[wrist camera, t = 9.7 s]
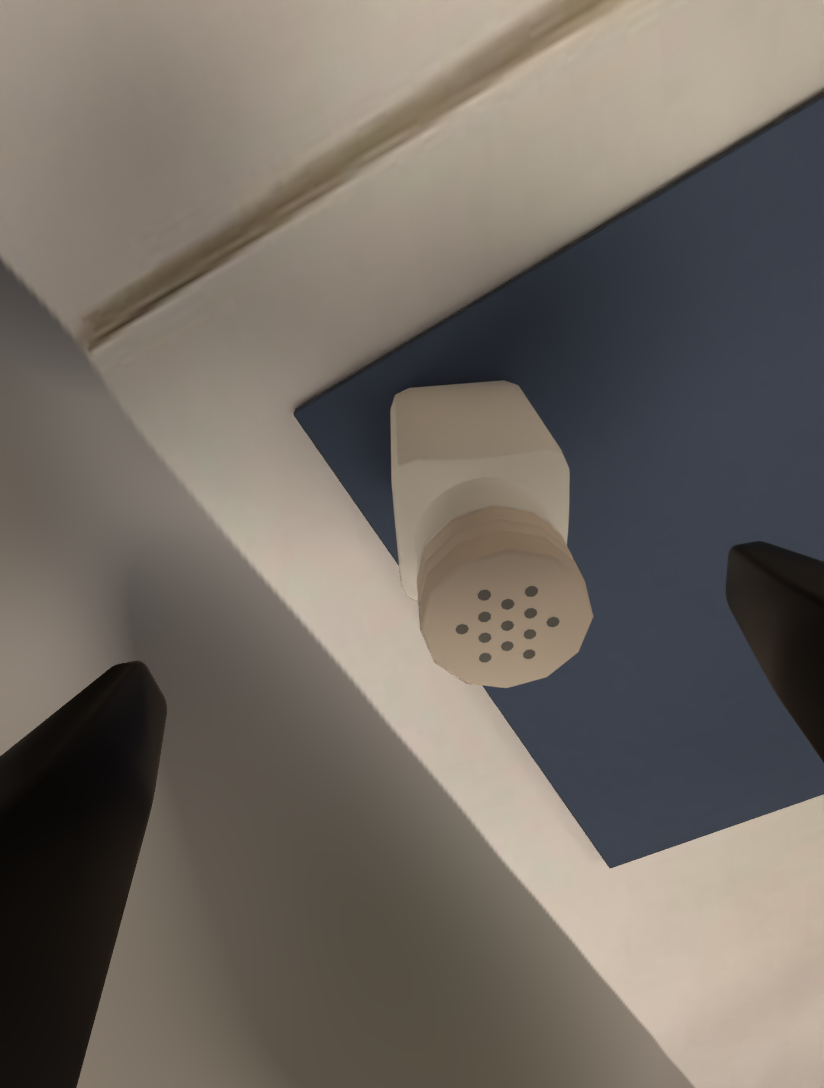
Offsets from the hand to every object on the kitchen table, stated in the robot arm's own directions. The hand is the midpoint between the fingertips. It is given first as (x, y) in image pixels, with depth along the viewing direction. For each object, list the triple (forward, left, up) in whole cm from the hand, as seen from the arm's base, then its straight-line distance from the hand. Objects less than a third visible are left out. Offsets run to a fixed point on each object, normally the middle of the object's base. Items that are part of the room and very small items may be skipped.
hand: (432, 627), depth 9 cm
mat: (+9, -10, -12) cm, 18 cm away
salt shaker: (+1, -2, -11) cm, 11 cm away
